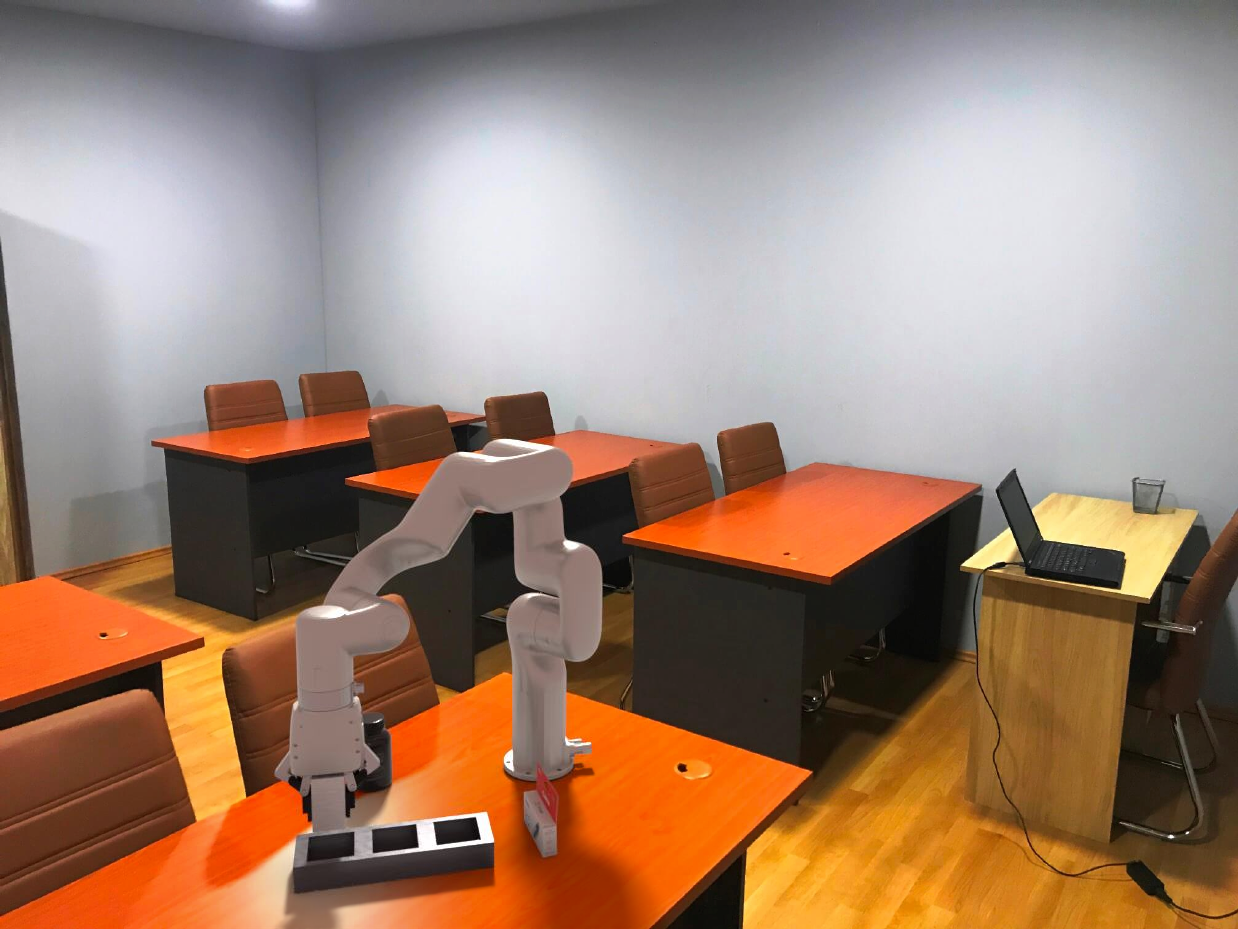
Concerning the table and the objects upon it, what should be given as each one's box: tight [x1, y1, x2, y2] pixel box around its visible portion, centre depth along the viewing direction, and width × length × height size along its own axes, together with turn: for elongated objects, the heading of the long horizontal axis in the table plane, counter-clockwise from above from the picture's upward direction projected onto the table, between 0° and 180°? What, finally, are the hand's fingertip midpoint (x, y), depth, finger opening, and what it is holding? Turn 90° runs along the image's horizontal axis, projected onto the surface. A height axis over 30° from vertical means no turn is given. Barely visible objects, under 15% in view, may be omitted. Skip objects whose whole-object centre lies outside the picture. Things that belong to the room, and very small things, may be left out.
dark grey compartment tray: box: [292, 811, 495, 894], centre depth 141 cm, size 28×8×4 cm, turn 105°
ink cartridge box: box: [523, 763, 559, 858], centre depth 148 cm, size 2×11×10 cm, turn 21°
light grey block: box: [310, 773, 347, 833], centre depth 137 cm, size 4×4×8 cm
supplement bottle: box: [356, 711, 393, 793], centre depth 163 cm, size 7×7×12 cm
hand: (329, 813), depth 137 cm, fingers closed on light grey block, 4 cm apart
